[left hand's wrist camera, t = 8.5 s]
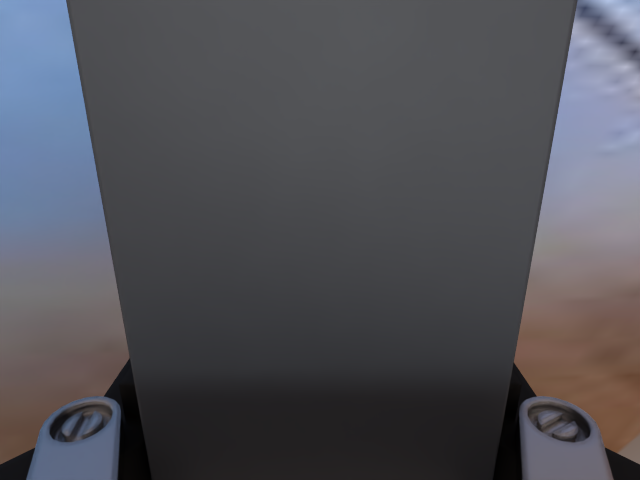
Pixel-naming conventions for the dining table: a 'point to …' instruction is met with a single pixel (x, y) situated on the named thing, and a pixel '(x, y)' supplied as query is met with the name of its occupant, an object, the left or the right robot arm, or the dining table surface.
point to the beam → (322, 224)
